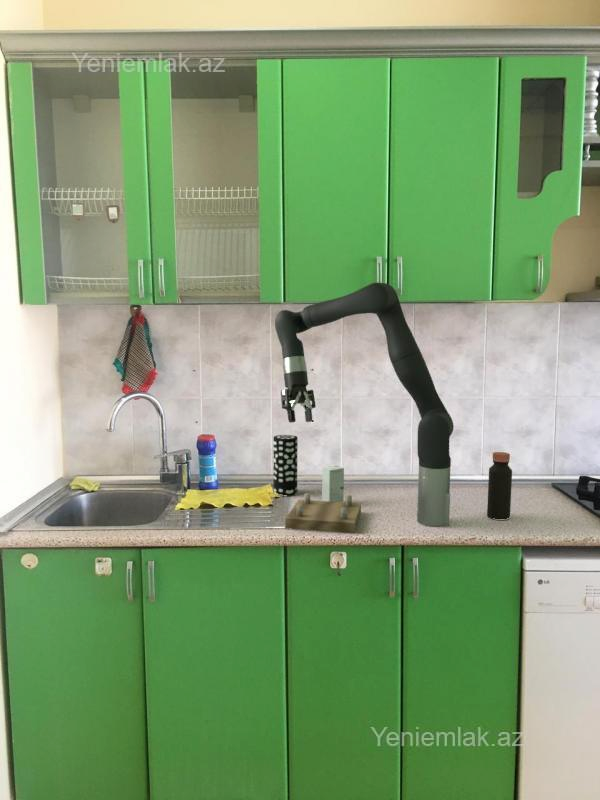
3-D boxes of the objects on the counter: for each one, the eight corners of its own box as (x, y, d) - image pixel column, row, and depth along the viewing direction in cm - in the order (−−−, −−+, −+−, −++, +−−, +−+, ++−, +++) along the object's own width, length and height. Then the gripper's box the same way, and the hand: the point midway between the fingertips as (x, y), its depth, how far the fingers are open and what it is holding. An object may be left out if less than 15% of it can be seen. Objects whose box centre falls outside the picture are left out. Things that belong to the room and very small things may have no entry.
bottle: (488, 512, 194) (491, 450, 192) (511, 515, 191) (514, 452, 189) (485, 518, 188) (487, 454, 186) (508, 521, 185) (511, 456, 183)
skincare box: (329, 506, 199) (329, 470, 198) (321, 503, 203) (321, 467, 202) (344, 503, 203) (344, 467, 201) (336, 500, 207) (336, 465, 205)
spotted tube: (269, 495, 213) (269, 438, 210) (279, 489, 221) (279, 434, 218) (291, 497, 210) (292, 439, 207) (300, 491, 218) (301, 435, 215)
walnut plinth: (360, 512, 193) (361, 493, 193) (354, 533, 174) (354, 512, 173) (298, 508, 197) (298, 490, 196) (285, 528, 178) (285, 508, 177)
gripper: (289, 368, 190) (295, 421, 188) (317, 370, 201) (323, 420, 199) (271, 373, 195) (277, 424, 193) (300, 374, 206) (305, 423, 204)
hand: (300, 422), depth 196 cm, fingers open, 8 cm apart
